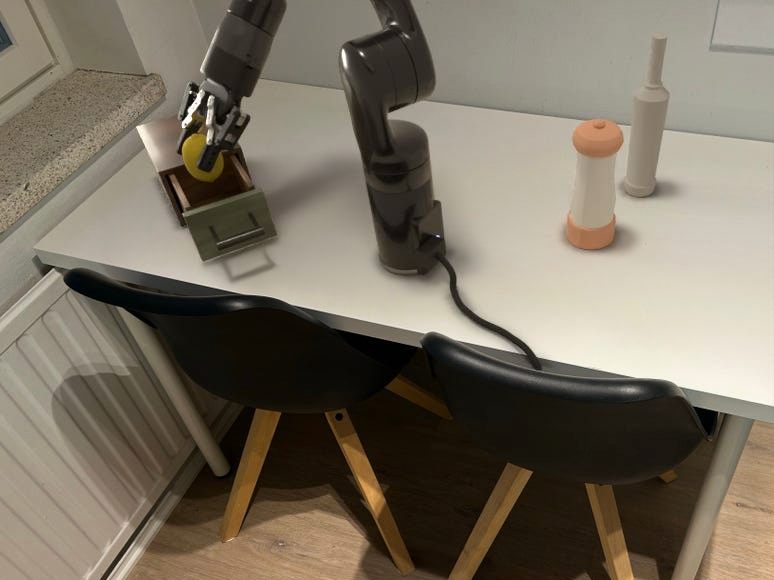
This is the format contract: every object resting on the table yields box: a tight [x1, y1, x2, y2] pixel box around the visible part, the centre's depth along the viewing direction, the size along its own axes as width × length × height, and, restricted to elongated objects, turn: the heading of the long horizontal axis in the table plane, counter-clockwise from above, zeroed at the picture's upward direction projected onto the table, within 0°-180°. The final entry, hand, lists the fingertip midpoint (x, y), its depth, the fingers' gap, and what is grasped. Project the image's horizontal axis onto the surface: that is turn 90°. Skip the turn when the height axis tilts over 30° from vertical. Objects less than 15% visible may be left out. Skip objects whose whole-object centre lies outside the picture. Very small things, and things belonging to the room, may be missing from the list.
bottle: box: [623, 32, 671, 198], centre depth 109 cm, size 5×5×25 cm
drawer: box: [168, 154, 278, 263], centre depth 111 cm, size 21×12×8 cm, turn 30°
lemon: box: [182, 134, 224, 182], centre depth 107 cm, size 6×6×8 cm
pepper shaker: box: [566, 118, 625, 251], centre depth 104 cm, size 7×7×19 cm
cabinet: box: [136, 111, 253, 227], centre depth 120 cm, size 17×13×10 cm
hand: (192, 162), depth 106 cm, fingers closed on lemon, 5 cm apart
